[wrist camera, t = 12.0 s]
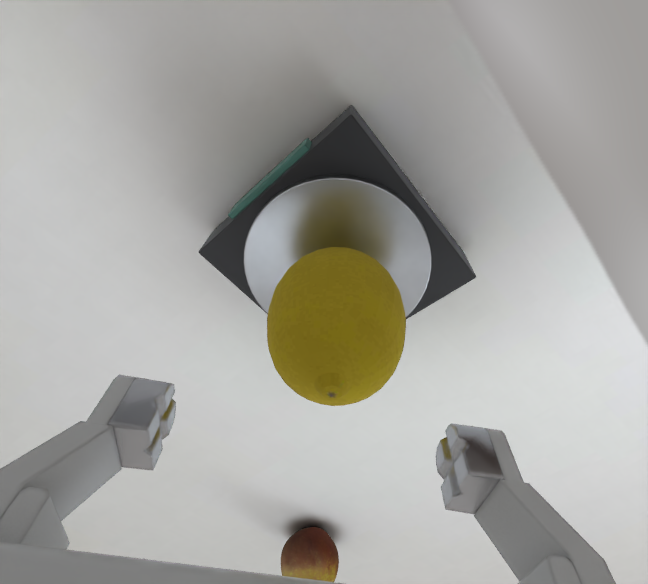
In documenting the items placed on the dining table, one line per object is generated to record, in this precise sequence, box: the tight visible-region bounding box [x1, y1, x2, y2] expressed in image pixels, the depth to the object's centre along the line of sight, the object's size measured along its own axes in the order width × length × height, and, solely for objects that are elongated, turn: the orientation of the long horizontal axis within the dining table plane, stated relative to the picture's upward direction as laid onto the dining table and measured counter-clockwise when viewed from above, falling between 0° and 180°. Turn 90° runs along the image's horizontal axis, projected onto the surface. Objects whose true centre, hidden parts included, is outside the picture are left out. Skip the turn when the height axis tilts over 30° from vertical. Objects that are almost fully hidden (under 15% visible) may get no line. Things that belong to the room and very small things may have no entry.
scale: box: [199, 105, 476, 319], centre depth 21 cm, size 10×10×3 cm
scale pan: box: [244, 174, 431, 317], centre depth 20 cm, size 9×9×1 cm
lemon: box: [267, 247, 406, 406], centre depth 16 cm, size 6×6×8 cm
